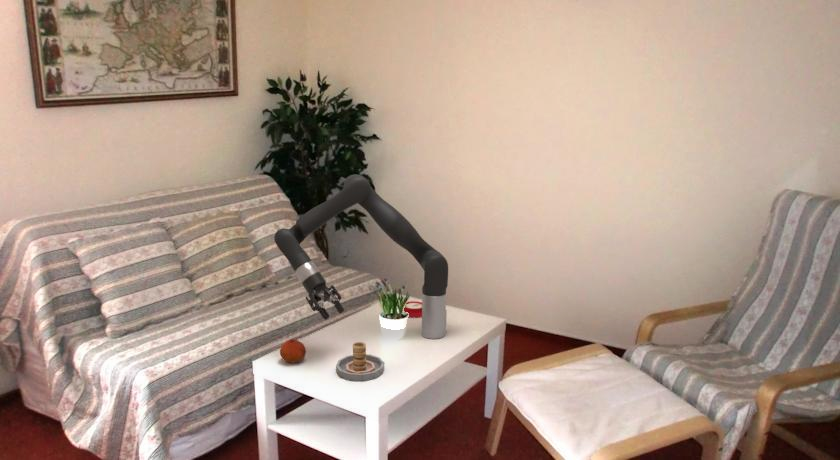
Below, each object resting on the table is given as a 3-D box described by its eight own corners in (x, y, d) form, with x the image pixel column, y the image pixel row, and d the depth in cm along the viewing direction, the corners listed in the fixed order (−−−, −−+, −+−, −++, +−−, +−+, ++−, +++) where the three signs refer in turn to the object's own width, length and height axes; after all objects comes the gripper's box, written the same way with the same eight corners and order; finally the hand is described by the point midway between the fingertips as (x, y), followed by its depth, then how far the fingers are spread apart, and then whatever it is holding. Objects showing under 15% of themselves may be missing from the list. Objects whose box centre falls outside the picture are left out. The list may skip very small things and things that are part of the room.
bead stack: (358, 364, 228) (358, 340, 226) (368, 368, 226) (368, 344, 224) (350, 369, 225) (350, 345, 223) (360, 372, 222) (360, 348, 220)
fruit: (291, 368, 226) (290, 347, 224) (275, 361, 232) (274, 340, 230) (311, 360, 233) (310, 339, 231) (296, 353, 238) (295, 333, 237)
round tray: (357, 356, 236) (357, 350, 236) (392, 368, 227) (392, 361, 227) (327, 372, 224) (327, 366, 223) (363, 385, 215) (363, 378, 214)
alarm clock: (396, 303, 281) (429, 292, 284) (399, 316, 283) (432, 305, 286) (402, 311, 271) (436, 300, 274) (405, 325, 273) (439, 314, 276)
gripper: (303, 275, 224) (329, 315, 221) (329, 267, 236) (353, 304, 233) (291, 287, 227) (316, 326, 224) (316, 278, 239) (340, 315, 237)
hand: (335, 315), depth 229 cm, fingers open, 8 cm apart
